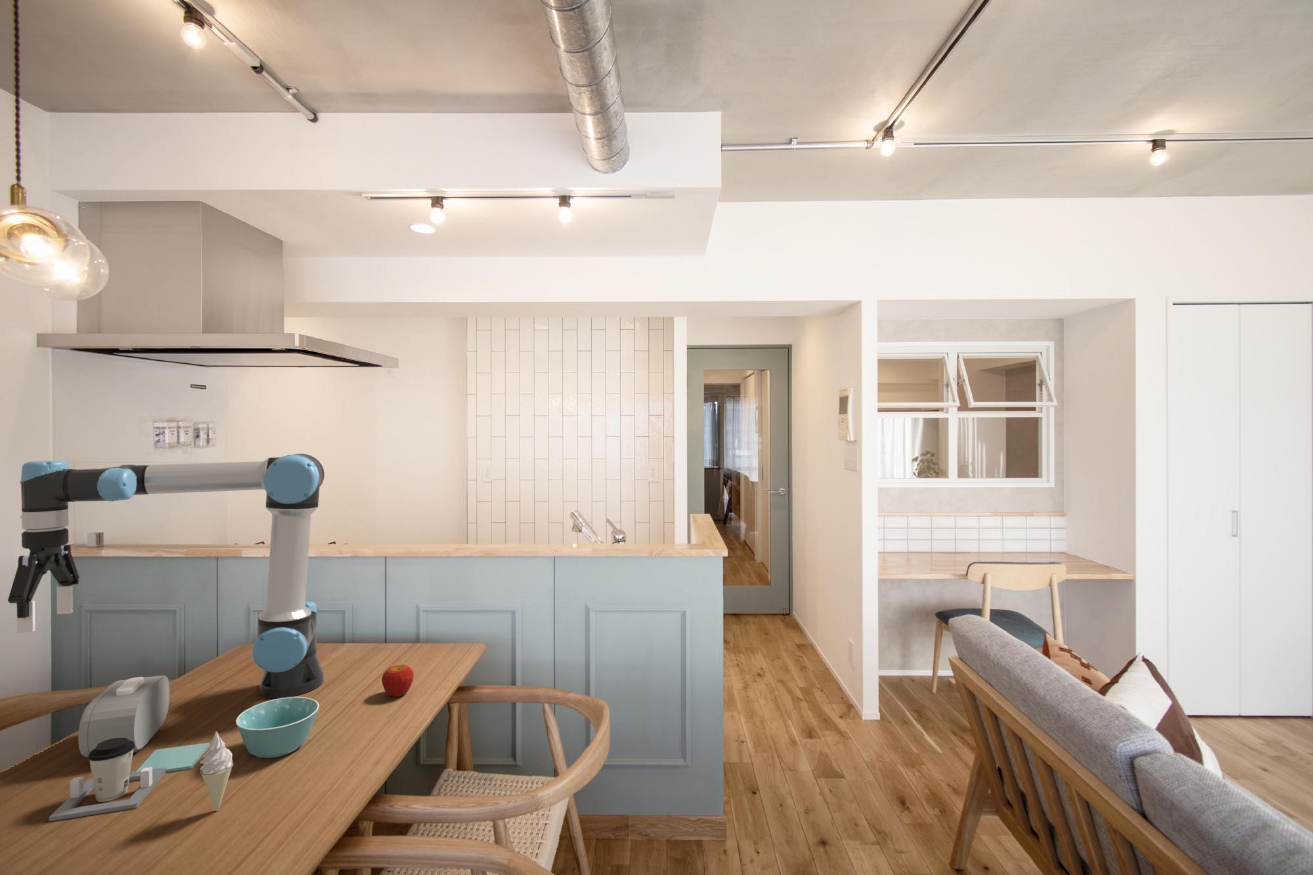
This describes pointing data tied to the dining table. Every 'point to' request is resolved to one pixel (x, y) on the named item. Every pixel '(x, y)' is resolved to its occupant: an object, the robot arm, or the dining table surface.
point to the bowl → (277, 725)
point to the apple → (397, 680)
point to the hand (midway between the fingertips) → (46, 622)
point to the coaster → (175, 757)
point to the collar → (81, 790)
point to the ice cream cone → (216, 769)
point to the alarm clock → (125, 712)
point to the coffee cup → (111, 768)
